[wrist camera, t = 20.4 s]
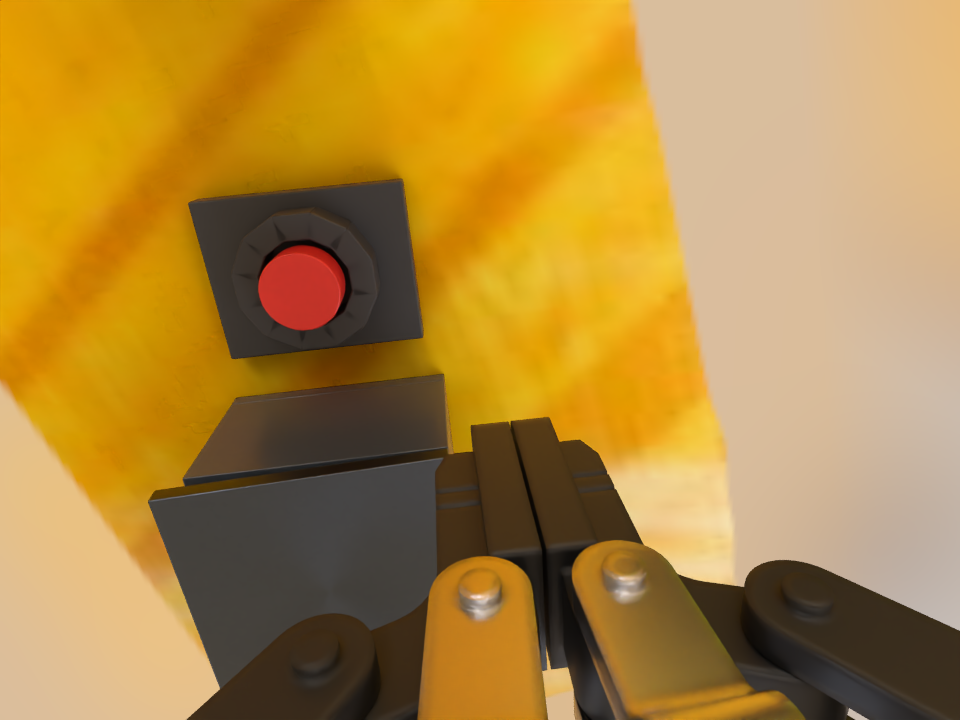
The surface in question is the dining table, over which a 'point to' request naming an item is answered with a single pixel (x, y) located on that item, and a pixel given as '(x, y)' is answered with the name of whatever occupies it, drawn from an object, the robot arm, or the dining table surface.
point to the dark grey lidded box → (325, 428)
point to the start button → (302, 287)
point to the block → (323, 224)
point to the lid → (301, 549)
